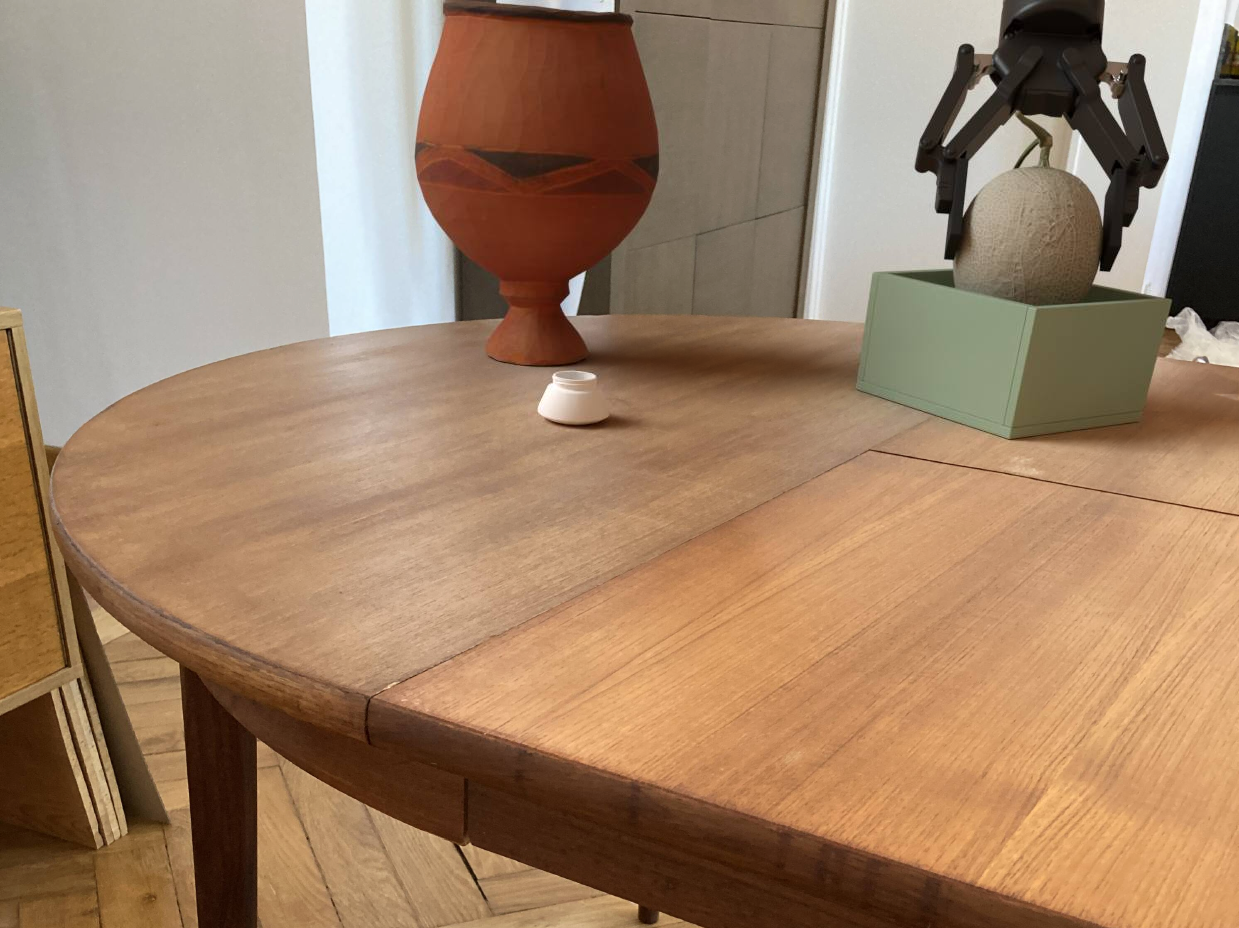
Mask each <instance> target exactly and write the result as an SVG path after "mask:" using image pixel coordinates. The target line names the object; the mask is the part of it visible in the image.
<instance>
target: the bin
mask: <svg viewBox="0 0 1239 928" xmlns="http://www.w3.org/2000/svg"><path fill="white" fill-rule="evenodd" d="M869 288H870V289H869V293H868V301H867V309H866V315H865V321H864V328H863V334H862V335H863V337H862V342H861V348H860V349H861V350H860V355H859V362H858V363H859V364H858V371H857V376H856V377H857V379H856V382H855V383H856V385H855V390H857V391H859V392H860V391H861V392H862V393H866V394H869V395H873V396H875V397H878V398H881V399H884V400H888V401H891V402H893V403H897V404H900V405H903V406H905V407H909V408H911V409H915V410H918V411H920V412H921V411H922V412H924V413H927V414H931V415H934V416H937V417H939V418H942V419H946V420H948V421H952V422H955V423H957V424H961V425H964V426H968V427H970V428H973V429H977V430H978V431H979V430H980V431H983V432H985V433H988V434H992V435H995V436H998V437H1001V438H1003V439H1007V440H1013V439H1022V438H1029V437H1035V436H1043V435H1049V434H1051V435H1052V434H1057V433H1065V432H1071V431H1078V430H1079V431H1080V430H1086V429H1094V428H1095V429H1096V428H1102V427H1109V426H1115V425H1117V426H1118V425H1123V424H1131V423H1138V422H1141V420H1142V416H1143V411H1144V409H1145V405H1146V401H1147V397H1148V393H1149V390H1150V386H1151V382H1152V378H1153V374H1154V371H1155V367H1156V362H1157V359H1158V355H1159V352H1160V348H1161V345H1162V340H1163V336H1164V333H1165V329H1166V326H1167V322H1168V318H1169V314H1170V310H1171V306H1172V303H1173V300H1172V299H1171V298H1166V297H1162V296H1157V295H1152V294H1146V293H1141V292H1138V291H1137V292H1136V291H1131V290H1126V289H1121V288H1116V287H1112V286H1111V287H1110V286H1105V285H1102V284H1101V285H1100V284H1095V283H1093V284H1092V286H1091V288H1090V290H1089V292H1088V294H1087V295H1086V297H1085V299H1084V300H1083V302H1082V303H1079V304H1064V305H1049V306H1033V305H1028V304H1024V303H1019V302H1015V301H1010V300H1006V299H1001V298H997V297H992V296H988V295H983V294H979V293H974V292H970V291H965V290H961V289H956V288H955V283H954V275H953V268H935V269H934V268H933V269H931V268H930V269H911V270H910V269H909V270H889V271H888V270H887V271H873V272H872V273H871V281H870V287H869Z"/></svg>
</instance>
